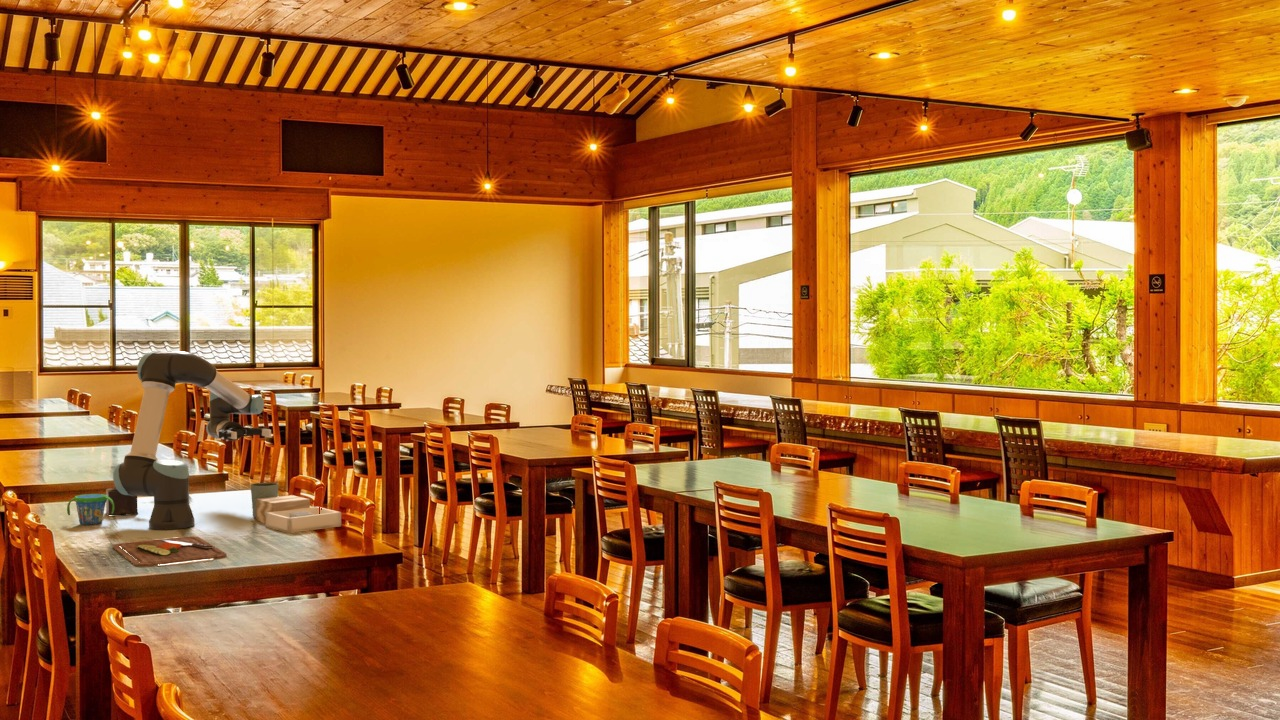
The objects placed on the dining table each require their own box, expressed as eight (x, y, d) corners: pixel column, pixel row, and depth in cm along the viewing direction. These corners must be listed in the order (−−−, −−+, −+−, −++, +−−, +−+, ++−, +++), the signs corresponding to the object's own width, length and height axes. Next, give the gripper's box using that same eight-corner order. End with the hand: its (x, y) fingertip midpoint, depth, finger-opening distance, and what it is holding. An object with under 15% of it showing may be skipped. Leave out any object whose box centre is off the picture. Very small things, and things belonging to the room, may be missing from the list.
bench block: (256, 520, 437) (256, 499, 436) (292, 516, 446) (292, 495, 446) (273, 525, 426) (273, 503, 426) (309, 521, 436) (309, 499, 435)
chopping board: (109, 547, 389) (109, 537, 389) (194, 538, 404) (194, 529, 404) (138, 570, 352) (138, 560, 352) (231, 560, 367) (231, 550, 367)
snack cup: (118, 520, 438) (117, 493, 437) (109, 525, 427) (108, 497, 427) (73, 521, 435) (72, 494, 435) (63, 526, 425) (62, 498, 425)
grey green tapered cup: (268, 518, 441) (268, 486, 441) (244, 517, 444) (244, 484, 444) (283, 514, 451) (283, 482, 451) (260, 513, 454) (260, 481, 454)
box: (265, 526, 424) (265, 512, 424) (317, 520, 438) (317, 506, 438) (288, 533, 411) (288, 518, 411) (341, 526, 424) (341, 512, 424)
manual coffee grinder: (108, 516, 447) (107, 469, 446) (105, 512, 456) (104, 465, 456) (152, 513, 454) (152, 466, 454) (149, 509, 464) (148, 463, 463)
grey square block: (296, 515, 419) (296, 526, 419) (312, 513, 423) (312, 524, 423) (289, 513, 424) (289, 524, 424) (305, 511, 427) (305, 522, 428)
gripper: (260, 438, 478) (284, 442, 462) (198, 442, 461) (221, 446, 445) (260, 419, 478) (283, 422, 462) (198, 423, 461) (220, 426, 445)
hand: (253, 434), depth 454 cm, fingers open, 13 cm apart
